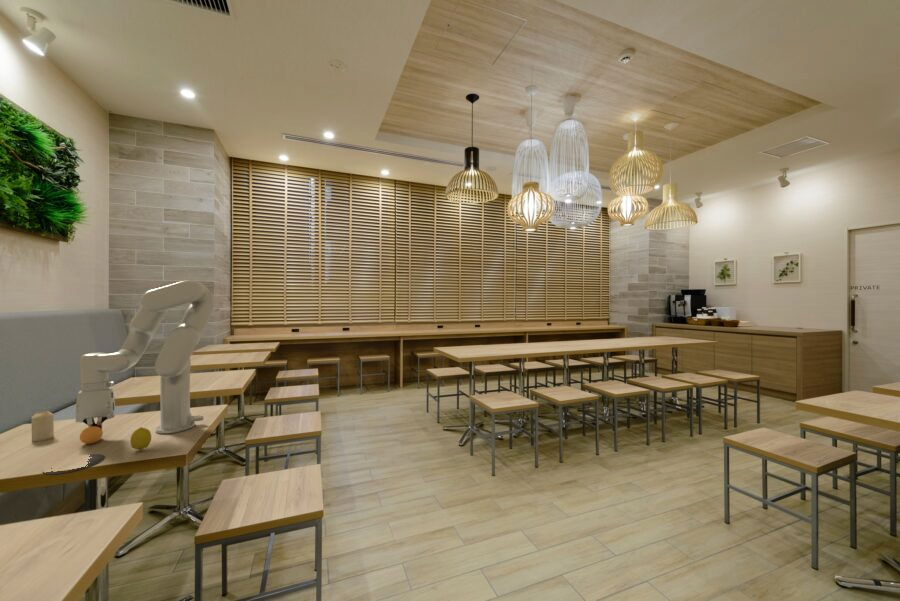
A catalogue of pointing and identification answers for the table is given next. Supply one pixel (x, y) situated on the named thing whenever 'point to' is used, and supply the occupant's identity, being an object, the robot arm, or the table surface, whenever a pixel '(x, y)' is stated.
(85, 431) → the ball
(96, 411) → the robot arm
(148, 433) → the lemon
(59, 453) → the table surface
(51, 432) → the candle
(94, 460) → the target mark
